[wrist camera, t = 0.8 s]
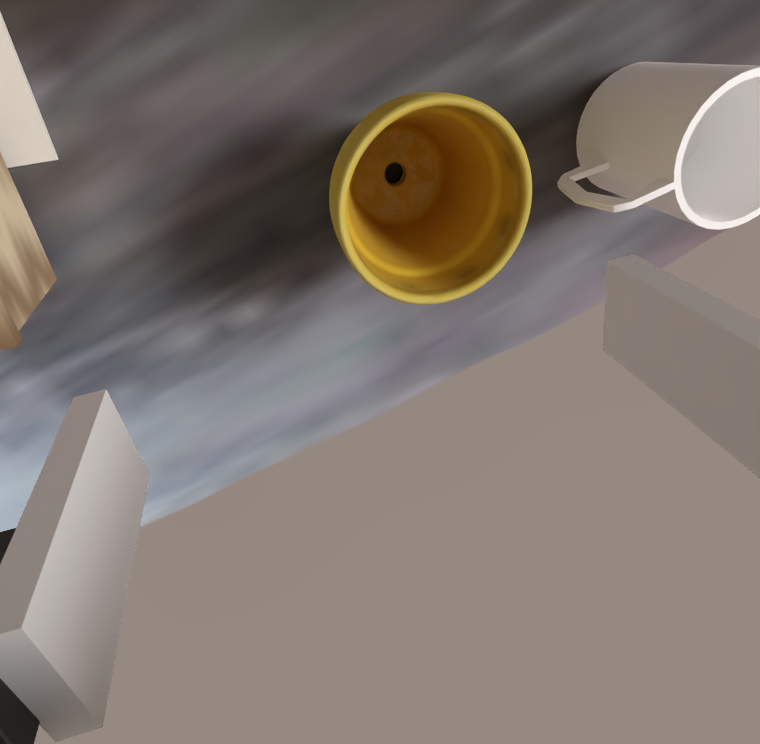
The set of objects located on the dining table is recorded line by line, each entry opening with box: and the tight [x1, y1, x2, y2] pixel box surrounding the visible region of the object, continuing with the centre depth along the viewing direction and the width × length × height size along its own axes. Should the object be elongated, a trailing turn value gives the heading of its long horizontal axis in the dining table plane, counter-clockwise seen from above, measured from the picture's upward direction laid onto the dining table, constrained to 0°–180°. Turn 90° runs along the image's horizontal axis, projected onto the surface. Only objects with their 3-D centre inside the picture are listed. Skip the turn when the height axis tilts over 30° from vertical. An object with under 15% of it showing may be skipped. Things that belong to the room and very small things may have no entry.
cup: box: [557, 62, 760, 229], centre depth 35 cm, size 8×12×10 cm
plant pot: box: [329, 92, 532, 305], centre depth 33 cm, size 10×10×10 cm
